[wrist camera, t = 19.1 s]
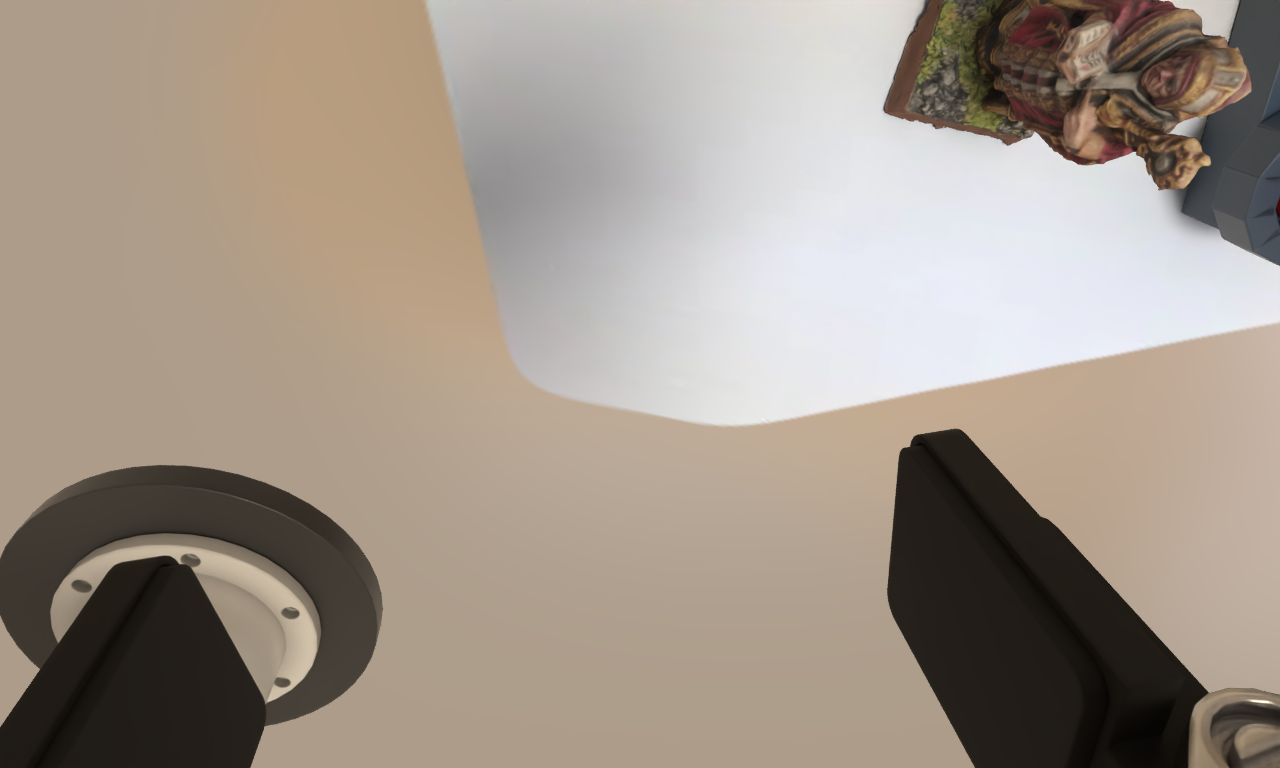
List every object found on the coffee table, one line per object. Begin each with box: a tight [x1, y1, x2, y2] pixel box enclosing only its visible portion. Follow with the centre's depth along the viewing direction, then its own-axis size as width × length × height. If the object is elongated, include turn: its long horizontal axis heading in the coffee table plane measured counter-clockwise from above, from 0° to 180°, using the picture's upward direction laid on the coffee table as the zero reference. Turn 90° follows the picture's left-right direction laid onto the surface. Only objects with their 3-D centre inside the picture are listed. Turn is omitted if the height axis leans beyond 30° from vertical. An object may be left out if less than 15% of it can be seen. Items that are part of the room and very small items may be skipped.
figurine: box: [885, 0, 1252, 190], centre depth 25 cm, size 6×6×12 cm
